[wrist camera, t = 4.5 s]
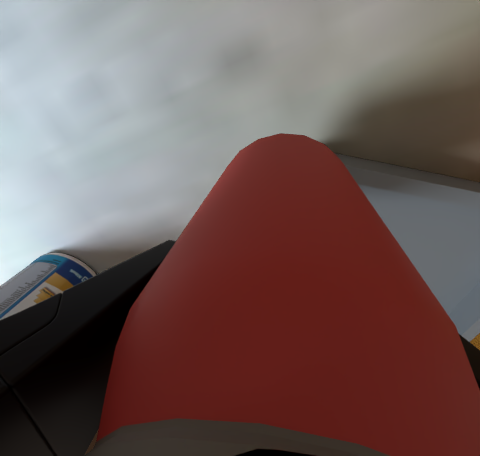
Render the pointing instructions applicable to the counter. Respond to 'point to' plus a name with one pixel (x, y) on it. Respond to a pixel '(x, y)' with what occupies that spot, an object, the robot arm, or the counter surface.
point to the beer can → (288, 329)
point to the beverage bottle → (41, 282)
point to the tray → (431, 230)
